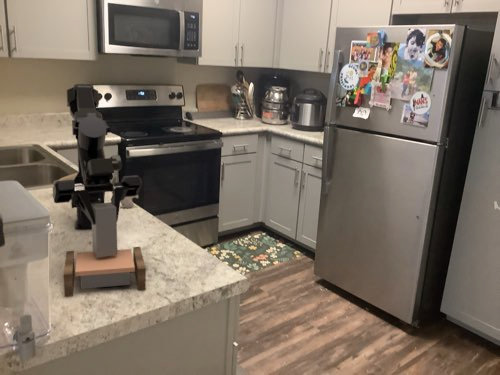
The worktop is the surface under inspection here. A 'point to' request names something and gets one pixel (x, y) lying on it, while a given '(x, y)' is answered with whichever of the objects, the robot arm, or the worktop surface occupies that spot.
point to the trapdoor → (104, 269)
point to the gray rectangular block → (104, 230)
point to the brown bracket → (70, 271)
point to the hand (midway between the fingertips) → (105, 222)
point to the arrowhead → (128, 201)
